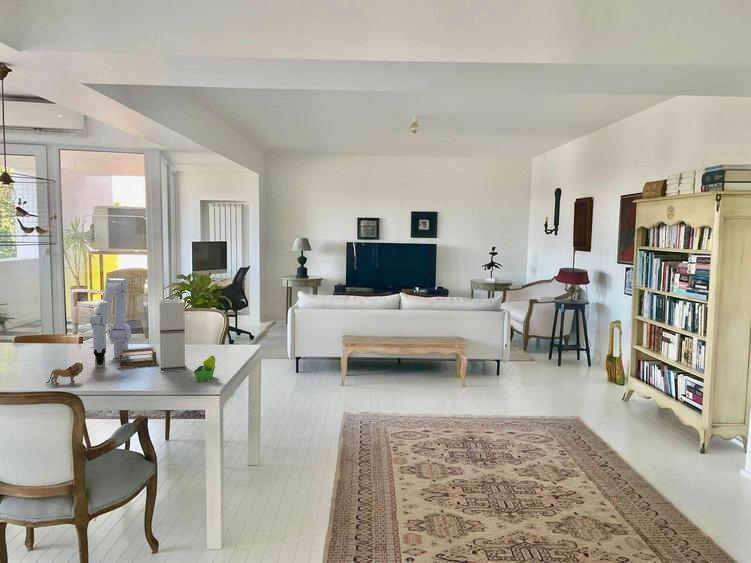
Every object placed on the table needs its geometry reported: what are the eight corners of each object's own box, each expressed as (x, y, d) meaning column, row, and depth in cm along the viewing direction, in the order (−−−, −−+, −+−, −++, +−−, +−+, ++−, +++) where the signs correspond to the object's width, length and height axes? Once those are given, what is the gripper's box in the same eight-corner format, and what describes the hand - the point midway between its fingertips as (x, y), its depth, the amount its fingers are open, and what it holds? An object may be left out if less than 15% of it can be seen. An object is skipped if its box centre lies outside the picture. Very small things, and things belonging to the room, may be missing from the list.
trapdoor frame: (117, 361, 266) (116, 349, 266) (156, 358, 275) (156, 346, 275) (117, 369, 251) (117, 356, 250) (159, 365, 260) (158, 353, 259)
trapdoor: (122, 355, 264) (122, 349, 264) (151, 352, 271) (151, 346, 271) (123, 359, 255) (123, 353, 255) (152, 356, 262) (152, 350, 262)
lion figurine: (84, 379, 232) (83, 360, 231) (83, 382, 227) (82, 363, 226) (46, 383, 225) (46, 363, 225) (44, 386, 221) (44, 366, 220)
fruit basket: (200, 375, 243) (199, 353, 242) (218, 375, 243) (218, 353, 242) (193, 382, 231) (192, 358, 231) (212, 382, 232) (212, 358, 231)
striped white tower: (184, 365, 262) (184, 299, 259) (185, 370, 252) (184, 301, 249) (161, 366, 257) (160, 299, 254) (160, 372, 248) (159, 302, 245)
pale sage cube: (95, 365, 257) (95, 356, 256) (105, 364, 259) (105, 355, 258) (95, 367, 253) (94, 358, 252) (105, 366, 255) (104, 357, 254)
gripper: (90, 335, 259) (91, 361, 260) (90, 340, 246) (90, 367, 247) (106, 334, 262) (106, 359, 263) (106, 339, 249) (106, 366, 251)
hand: (100, 363), depth 256 cm, fingers closed on pale sage cube, 4 cm apart
